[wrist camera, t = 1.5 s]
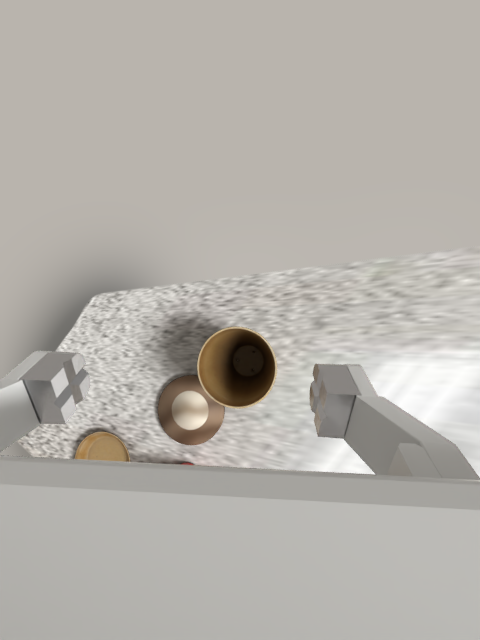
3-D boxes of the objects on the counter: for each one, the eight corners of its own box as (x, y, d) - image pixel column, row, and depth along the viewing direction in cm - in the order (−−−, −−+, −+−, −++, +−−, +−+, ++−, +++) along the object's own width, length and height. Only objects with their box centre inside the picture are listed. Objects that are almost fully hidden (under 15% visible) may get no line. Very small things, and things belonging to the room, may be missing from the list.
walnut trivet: (235, 428, 69) (234, 430, 68) (175, 452, 71) (172, 455, 69) (208, 364, 71) (207, 365, 70) (151, 390, 73) (148, 391, 71)
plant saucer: (141, 482, 72) (136, 488, 70) (88, 494, 74) (81, 500, 72) (128, 422, 74) (122, 425, 71) (76, 435, 76) (68, 439, 73)
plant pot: (221, 326, 71) (202, 321, 56) (283, 334, 69) (281, 332, 53) (213, 387, 71) (191, 401, 55) (275, 398, 68) (271, 415, 52)
